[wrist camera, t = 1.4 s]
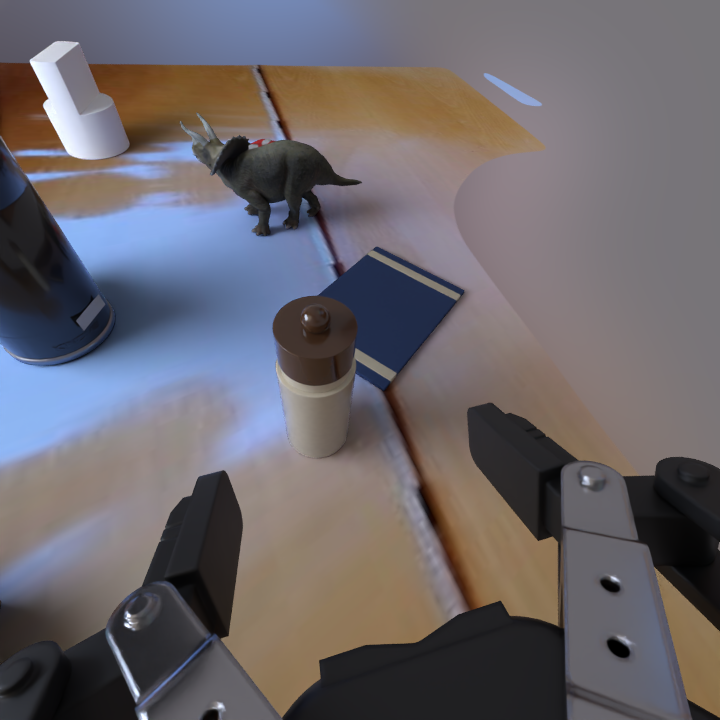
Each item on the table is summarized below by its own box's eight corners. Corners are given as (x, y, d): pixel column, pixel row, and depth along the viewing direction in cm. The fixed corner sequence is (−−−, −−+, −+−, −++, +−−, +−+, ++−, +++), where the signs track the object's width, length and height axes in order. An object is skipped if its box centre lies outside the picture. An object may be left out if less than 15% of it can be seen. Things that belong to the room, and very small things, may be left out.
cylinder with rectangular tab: (120, 160, 57) (79, 64, 47) (56, 158, 56) (2, 59, 46) (136, 135, 62) (102, 44, 53) (78, 132, 61) (33, 38, 52)
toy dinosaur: (358, 203, 55) (366, 119, 46) (366, 237, 50) (375, 151, 42) (205, 201, 52) (182, 111, 43) (197, 237, 47) (168, 144, 39)
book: (283, 327, 40) (282, 323, 39) (376, 249, 49) (376, 245, 49) (383, 391, 36) (384, 388, 35) (463, 293, 45) (464, 290, 45)
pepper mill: (273, 434, 32) (245, 312, 20) (313, 392, 35) (309, 264, 23) (322, 471, 31) (322, 362, 19) (359, 424, 33) (381, 304, 21)
